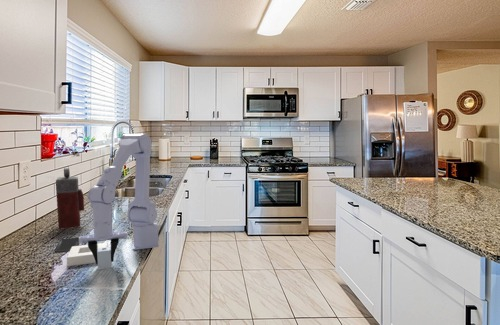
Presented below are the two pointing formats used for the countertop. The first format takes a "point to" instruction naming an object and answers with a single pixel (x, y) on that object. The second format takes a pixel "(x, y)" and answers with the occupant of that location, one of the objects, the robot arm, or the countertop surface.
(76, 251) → the block
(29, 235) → the countertop surface
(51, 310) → the countertop surface
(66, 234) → the countertop surface
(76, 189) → the dark red french press
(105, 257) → the block
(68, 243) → the phone
